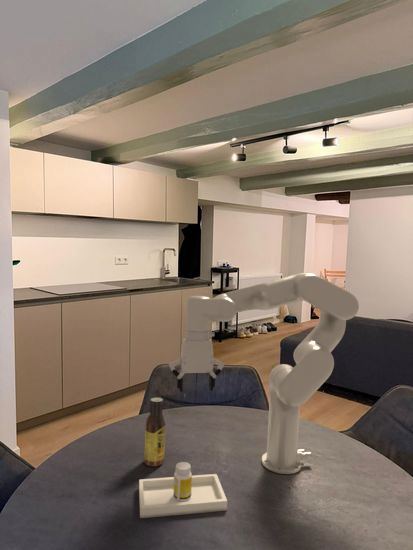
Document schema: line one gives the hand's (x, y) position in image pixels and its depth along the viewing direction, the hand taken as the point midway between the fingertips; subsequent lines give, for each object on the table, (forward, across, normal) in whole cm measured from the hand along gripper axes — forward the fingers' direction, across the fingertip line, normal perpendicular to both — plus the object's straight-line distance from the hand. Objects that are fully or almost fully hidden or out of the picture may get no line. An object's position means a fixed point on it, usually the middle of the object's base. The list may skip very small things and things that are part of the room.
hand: (195, 390), depth 120 cm
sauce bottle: (+24, +12, -2) cm, 26 cm away
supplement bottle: (+23, +6, +17) cm, 29 cm away
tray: (+23, +6, +18) cm, 30 cm away
